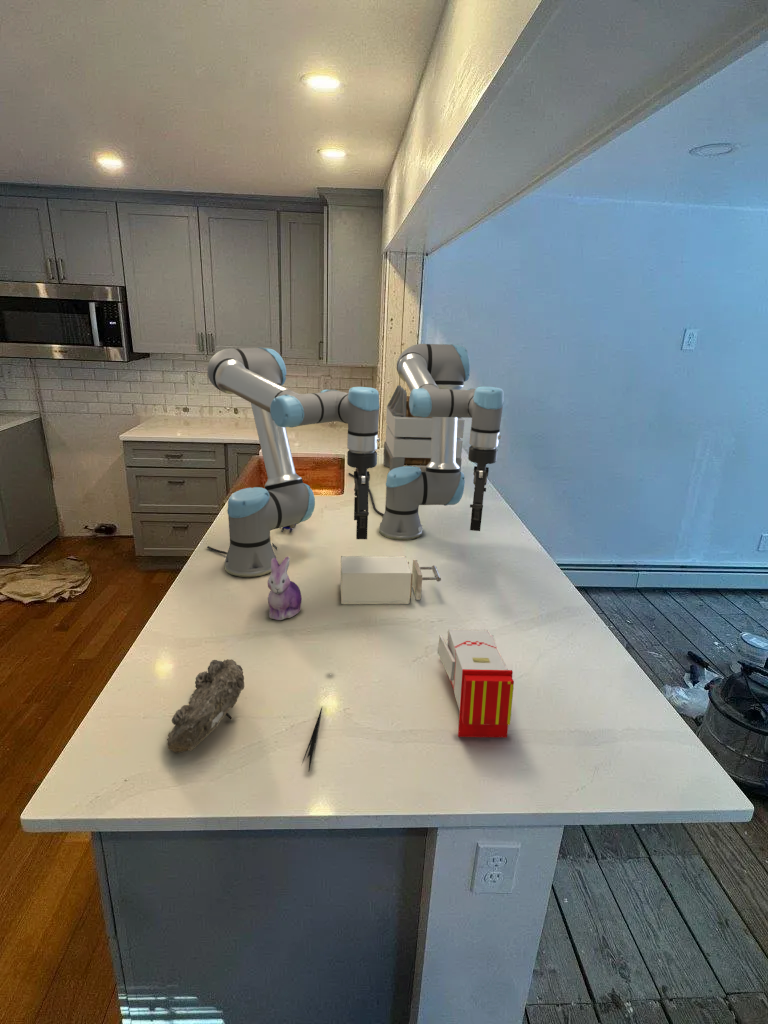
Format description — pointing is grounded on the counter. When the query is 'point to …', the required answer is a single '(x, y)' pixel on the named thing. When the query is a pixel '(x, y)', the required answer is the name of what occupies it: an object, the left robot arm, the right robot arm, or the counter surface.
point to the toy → (478, 682)
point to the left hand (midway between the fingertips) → (360, 529)
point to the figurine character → (288, 527)
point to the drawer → (421, 578)
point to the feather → (313, 740)
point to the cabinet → (375, 580)
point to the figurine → (282, 592)
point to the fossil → (206, 705)
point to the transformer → (411, 435)
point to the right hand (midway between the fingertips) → (475, 521)
